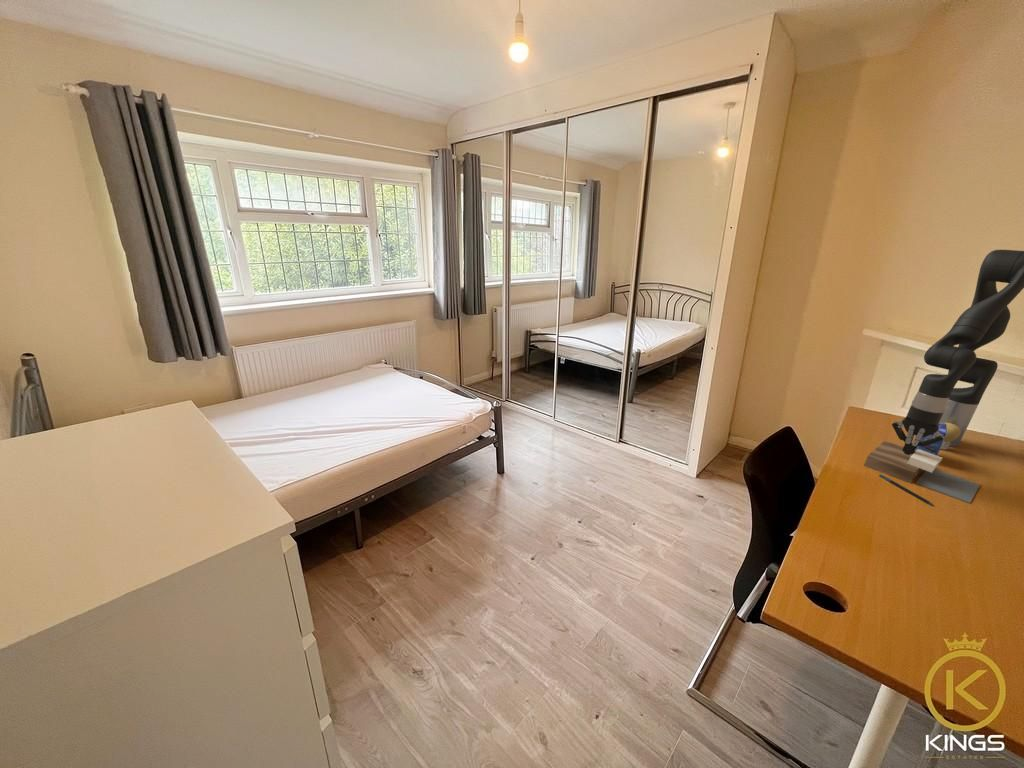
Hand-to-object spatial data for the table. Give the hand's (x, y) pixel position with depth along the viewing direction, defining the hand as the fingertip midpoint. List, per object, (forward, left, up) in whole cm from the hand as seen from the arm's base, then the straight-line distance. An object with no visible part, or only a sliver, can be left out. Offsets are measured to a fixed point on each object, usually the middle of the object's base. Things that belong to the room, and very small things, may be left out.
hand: (907, 453), depth 134 cm
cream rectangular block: (0, +4, 0) cm, 5 cm away
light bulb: (-30, +4, -6) cm, 31 cm away
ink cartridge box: (-17, +2, -6) cm, 18 cm away
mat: (0, +11, -6) cm, 13 cm away
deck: (0, -2, -6) cm, 6 cm away
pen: (+15, +4, -6) cm, 17 cm away
